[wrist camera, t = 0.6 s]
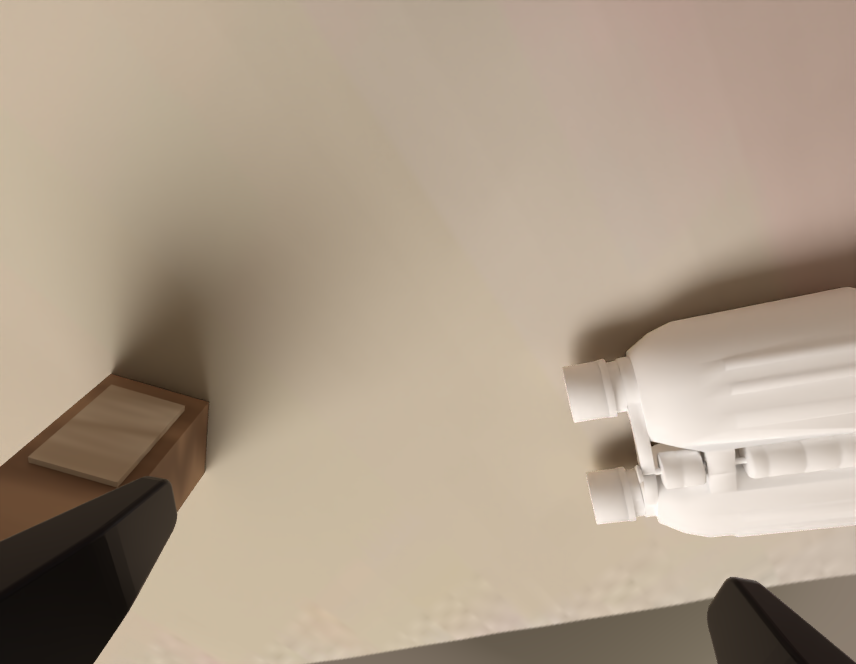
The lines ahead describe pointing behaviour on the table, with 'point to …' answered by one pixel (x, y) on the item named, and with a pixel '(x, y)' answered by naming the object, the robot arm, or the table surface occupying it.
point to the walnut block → (105, 451)
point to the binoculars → (733, 419)
